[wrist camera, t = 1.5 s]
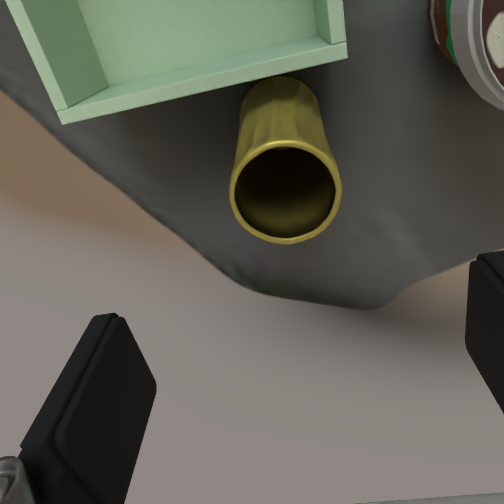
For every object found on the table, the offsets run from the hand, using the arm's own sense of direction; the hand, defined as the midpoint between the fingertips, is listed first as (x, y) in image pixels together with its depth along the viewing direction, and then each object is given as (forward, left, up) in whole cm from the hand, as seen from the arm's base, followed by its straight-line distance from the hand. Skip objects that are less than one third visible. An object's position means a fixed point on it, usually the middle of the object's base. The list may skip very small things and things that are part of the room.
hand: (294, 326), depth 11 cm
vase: (0, 0, -23) cm, 23 cm away
